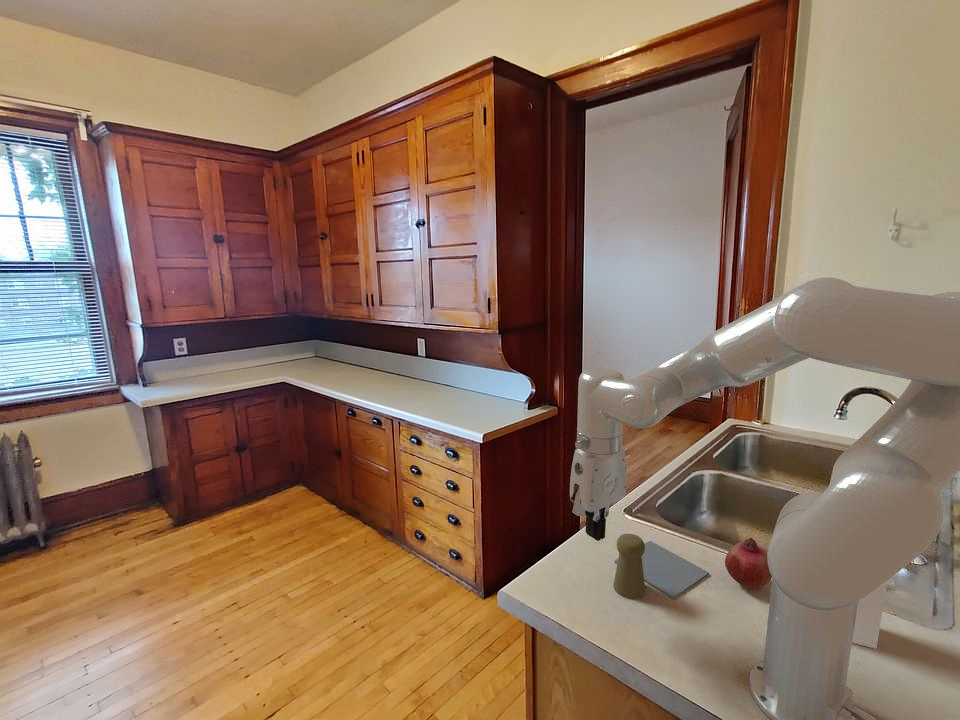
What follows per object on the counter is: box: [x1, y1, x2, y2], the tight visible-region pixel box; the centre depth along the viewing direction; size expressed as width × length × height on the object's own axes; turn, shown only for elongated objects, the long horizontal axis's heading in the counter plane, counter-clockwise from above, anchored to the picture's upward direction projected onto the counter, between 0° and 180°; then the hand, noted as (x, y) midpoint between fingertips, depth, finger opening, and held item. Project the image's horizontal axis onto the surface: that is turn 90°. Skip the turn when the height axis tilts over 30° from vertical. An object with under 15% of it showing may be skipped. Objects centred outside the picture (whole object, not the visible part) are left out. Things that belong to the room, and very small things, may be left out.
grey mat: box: [614, 540, 710, 600], centre depth 97 cm, size 14×12×1 cm
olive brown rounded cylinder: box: [613, 533, 646, 600], centre depth 91 cm, size 6×6×11 cm
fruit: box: [724, 537, 772, 590], centre depth 91 cm, size 8×8×10 cm
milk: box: [852, 580, 888, 650], centre depth 78 cm, size 6×6×22 cm
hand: (595, 535), depth 85 cm, fingers closed
